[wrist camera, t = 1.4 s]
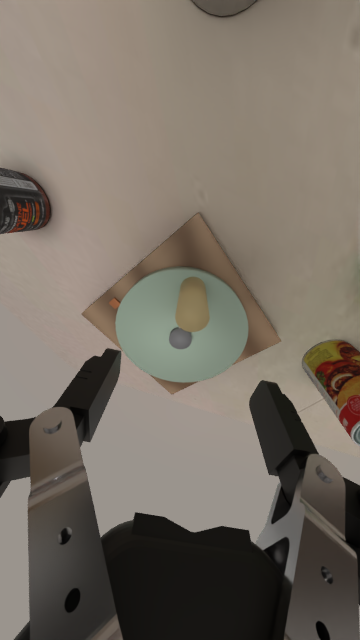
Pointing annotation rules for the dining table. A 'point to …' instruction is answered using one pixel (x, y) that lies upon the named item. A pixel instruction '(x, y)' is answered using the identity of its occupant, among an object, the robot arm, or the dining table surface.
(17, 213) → the supplement bottle
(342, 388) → the canned food
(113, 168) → the dining table surface
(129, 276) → the base board
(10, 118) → the dining table surface
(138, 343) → the dial
